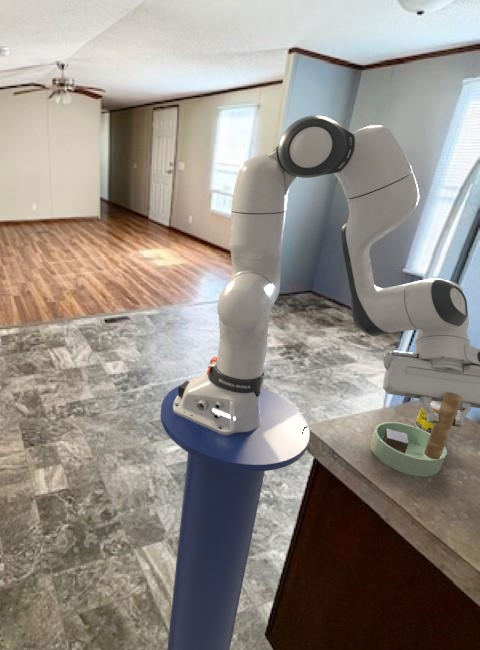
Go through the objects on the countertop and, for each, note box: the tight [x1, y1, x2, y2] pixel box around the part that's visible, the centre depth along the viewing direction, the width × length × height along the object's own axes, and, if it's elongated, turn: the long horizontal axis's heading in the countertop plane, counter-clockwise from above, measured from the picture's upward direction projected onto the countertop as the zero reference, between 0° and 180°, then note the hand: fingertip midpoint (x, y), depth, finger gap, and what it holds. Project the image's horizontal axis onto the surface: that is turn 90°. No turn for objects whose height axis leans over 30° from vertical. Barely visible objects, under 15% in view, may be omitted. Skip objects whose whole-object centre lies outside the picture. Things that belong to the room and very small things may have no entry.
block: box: [383, 429, 408, 454], centre depth 97 cm, size 4×4×4 cm
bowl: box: [370, 421, 448, 478], centre depth 96 cm, size 13×13×4 cm
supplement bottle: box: [414, 401, 442, 434], centre depth 104 cm, size 6×6×10 cm
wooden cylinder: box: [424, 392, 462, 460], centre depth 83 cm, size 3×3×14 cm
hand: (445, 424), depth 82 cm, fingers closed on wooden cylinder, 2 cm apart
